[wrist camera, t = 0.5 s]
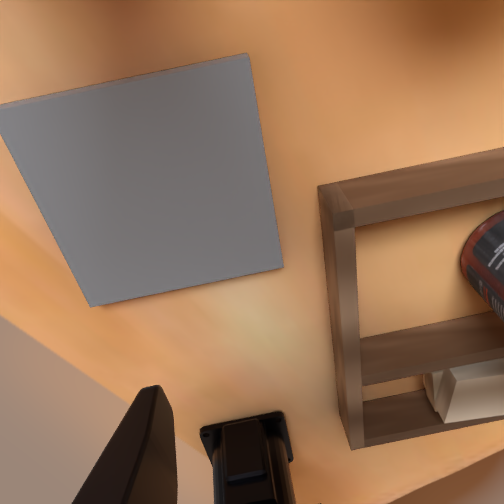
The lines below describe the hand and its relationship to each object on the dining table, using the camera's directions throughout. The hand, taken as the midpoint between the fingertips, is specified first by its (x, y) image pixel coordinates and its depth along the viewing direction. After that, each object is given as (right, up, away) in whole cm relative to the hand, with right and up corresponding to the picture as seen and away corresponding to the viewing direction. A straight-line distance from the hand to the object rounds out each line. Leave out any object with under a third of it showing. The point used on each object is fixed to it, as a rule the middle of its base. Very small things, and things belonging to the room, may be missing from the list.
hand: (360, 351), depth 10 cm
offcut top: (+15, -6, +20) cm, 26 cm away
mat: (-7, +5, +12) cm, 15 cm away
